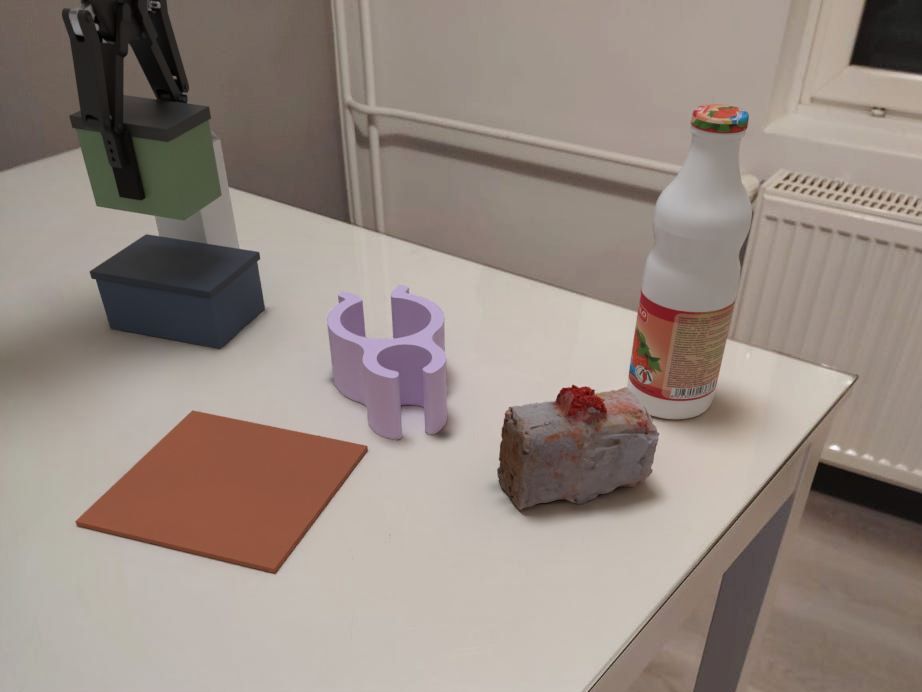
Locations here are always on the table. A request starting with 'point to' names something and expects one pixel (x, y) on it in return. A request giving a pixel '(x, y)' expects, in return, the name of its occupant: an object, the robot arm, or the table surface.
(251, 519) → the mat
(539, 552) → the table surface
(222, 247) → the lower tub
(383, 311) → the table surface
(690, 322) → the fruit juice
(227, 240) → the milk carton
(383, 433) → the clip
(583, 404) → the food item
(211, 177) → the box
